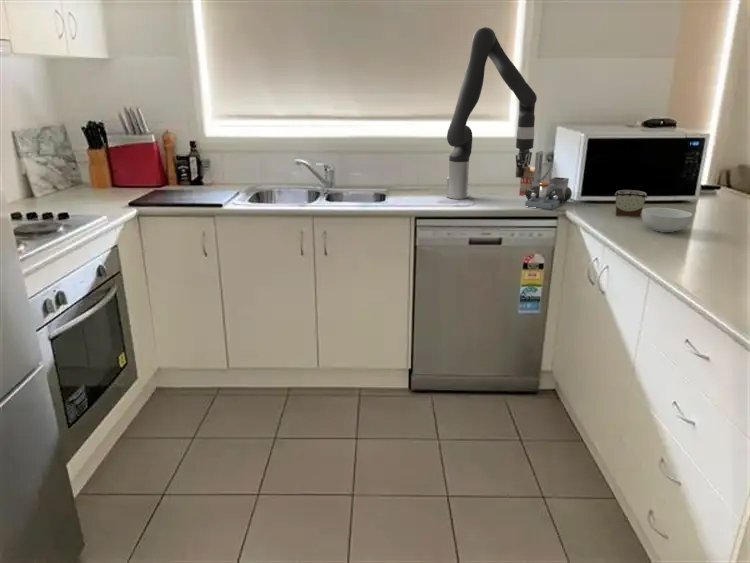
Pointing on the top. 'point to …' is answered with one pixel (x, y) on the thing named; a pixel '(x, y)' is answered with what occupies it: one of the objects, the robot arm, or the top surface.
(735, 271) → the top surface
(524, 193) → the stack of blocks
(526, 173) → the block
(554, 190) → the trolley
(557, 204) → the tray
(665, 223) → the cereal bowl
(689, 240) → the top surface
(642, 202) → the food container
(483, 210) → the top surface
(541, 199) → the pin
